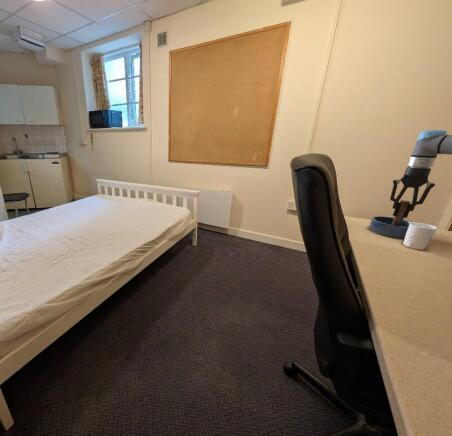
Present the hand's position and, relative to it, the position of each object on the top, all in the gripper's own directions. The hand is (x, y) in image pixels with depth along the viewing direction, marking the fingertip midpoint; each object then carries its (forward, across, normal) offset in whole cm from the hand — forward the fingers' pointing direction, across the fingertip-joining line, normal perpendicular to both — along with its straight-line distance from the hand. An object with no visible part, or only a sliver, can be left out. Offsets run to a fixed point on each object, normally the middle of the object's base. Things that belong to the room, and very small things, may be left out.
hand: (399, 216), depth 106 cm
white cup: (+10, +6, -12) cm, 17 cm away
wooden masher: (+8, 0, 0) cm, 8 cm away
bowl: (+9, -1, +1) cm, 10 cm away
